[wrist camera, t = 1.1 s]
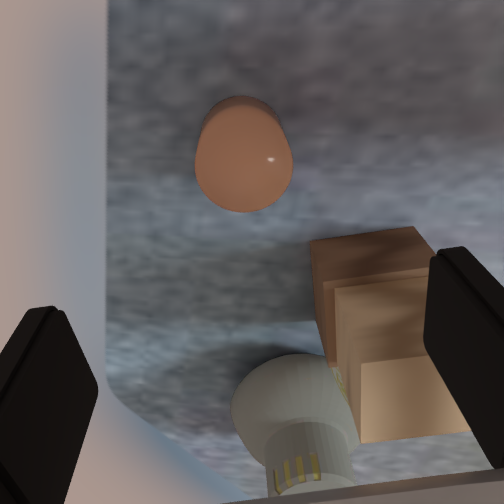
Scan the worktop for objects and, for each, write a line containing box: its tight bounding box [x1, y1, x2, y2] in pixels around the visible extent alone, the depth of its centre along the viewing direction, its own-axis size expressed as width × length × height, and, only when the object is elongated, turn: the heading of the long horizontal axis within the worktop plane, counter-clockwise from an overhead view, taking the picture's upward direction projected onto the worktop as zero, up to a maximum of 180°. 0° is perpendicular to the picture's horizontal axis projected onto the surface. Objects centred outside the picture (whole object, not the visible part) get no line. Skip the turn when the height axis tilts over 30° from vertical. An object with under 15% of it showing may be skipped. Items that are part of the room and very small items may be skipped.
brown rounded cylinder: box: [195, 96, 293, 212], centre depth 23 cm, size 5×5×5 cm
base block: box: [310, 226, 436, 368], centre depth 29 cm, size 7×7×5 cm
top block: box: [334, 276, 471, 444], centre depth 24 cm, size 6×6×6 cm
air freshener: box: [230, 354, 360, 497], centre depth 32 cm, size 11×8×10 cm
